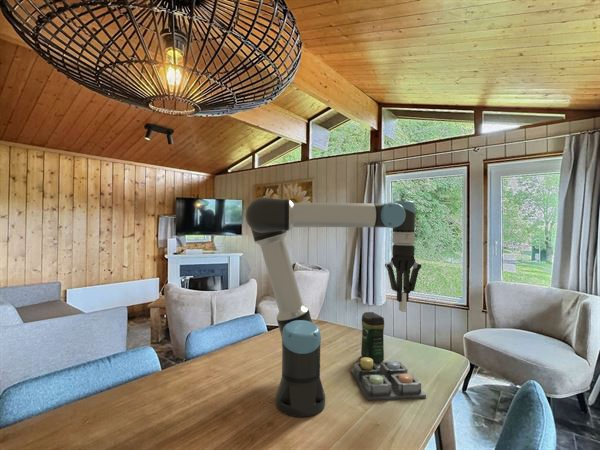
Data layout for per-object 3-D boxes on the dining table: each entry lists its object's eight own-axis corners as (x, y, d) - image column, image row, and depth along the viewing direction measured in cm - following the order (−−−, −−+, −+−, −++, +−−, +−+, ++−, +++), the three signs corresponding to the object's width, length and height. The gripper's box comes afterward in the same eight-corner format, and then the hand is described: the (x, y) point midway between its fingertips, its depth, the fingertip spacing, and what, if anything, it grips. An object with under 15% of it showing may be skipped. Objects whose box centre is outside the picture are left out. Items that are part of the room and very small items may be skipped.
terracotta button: (402, 389, 103) (402, 380, 103) (396, 382, 108) (396, 374, 108) (415, 389, 104) (415, 379, 104) (408, 382, 108) (409, 373, 108)
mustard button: (362, 371, 112) (362, 362, 112) (358, 365, 116) (359, 357, 116) (374, 370, 112) (374, 362, 113) (370, 365, 117) (370, 357, 117)
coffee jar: (387, 363, 127) (387, 316, 127) (368, 364, 125) (369, 317, 125) (375, 353, 136) (376, 310, 136) (358, 355, 134) (359, 311, 134)
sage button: (372, 390, 102) (372, 381, 102) (367, 384, 106) (367, 375, 106) (385, 390, 103) (385, 381, 103) (380, 383, 107) (380, 374, 107)
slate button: (389, 375, 113) (390, 366, 113) (385, 369, 117) (385, 361, 117) (401, 374, 114) (401, 366, 114) (396, 369, 118) (396, 361, 118)
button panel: (367, 400, 99) (368, 388, 99) (350, 371, 119) (350, 361, 119) (425, 397, 101) (426, 385, 101) (399, 369, 121) (399, 359, 121)
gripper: (389, 244, 109) (388, 313, 109) (426, 245, 111) (425, 313, 110) (381, 243, 117) (381, 308, 116) (415, 244, 118) (415, 307, 118)
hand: (402, 310), depth 113 cm, fingers closed
